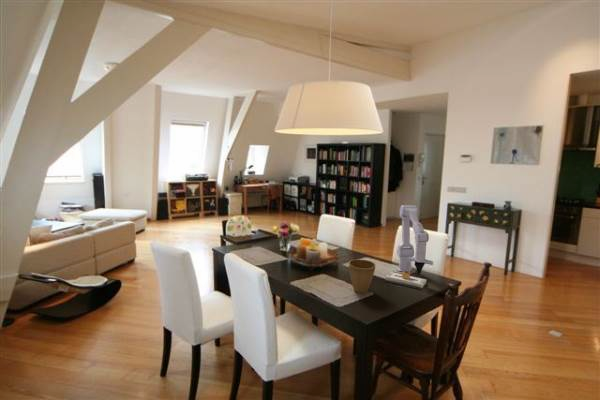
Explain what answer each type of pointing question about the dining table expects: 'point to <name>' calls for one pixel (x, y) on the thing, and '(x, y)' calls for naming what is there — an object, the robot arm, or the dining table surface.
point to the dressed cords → (404, 283)
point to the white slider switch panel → (411, 280)
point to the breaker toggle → (406, 274)
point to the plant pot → (361, 274)
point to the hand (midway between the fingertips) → (419, 274)
